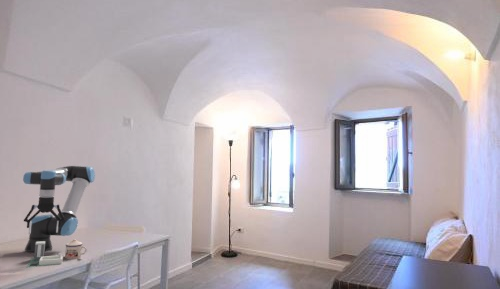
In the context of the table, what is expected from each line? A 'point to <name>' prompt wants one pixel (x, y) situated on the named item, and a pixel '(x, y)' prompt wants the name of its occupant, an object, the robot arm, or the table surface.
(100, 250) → the table surface
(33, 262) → the board
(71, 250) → the teacup with lid
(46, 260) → the header
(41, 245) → the plug
